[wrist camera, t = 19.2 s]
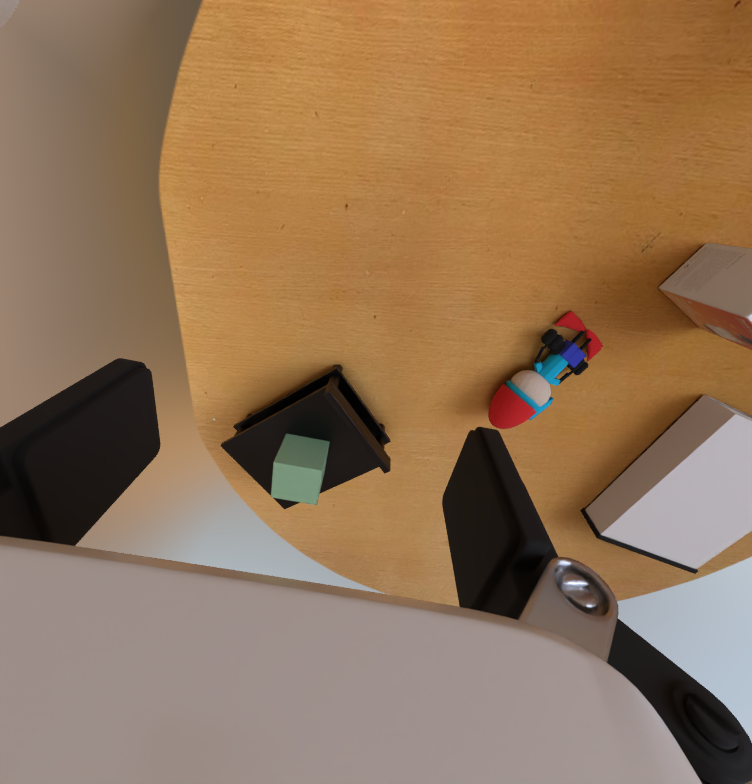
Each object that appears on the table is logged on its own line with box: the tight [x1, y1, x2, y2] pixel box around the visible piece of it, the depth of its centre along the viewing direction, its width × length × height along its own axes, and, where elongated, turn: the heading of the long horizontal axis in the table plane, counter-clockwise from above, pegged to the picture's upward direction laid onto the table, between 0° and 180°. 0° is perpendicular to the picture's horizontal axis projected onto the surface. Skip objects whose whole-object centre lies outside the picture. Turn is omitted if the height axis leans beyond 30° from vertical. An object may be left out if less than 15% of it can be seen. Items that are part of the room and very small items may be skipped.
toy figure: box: [488, 311, 603, 429], centre depth 41 cm, size 8×5×15 cm
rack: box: [221, 365, 390, 509], centre depth 43 cm, size 16×12×8 cm
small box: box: [658, 243, 752, 350], centre depth 32 cm, size 8×6×10 cm
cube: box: [271, 434, 330, 505], centre depth 39 cm, size 5×5×5 cm
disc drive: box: [581, 394, 752, 573], centre depth 47 cm, size 18×22×5 cm
